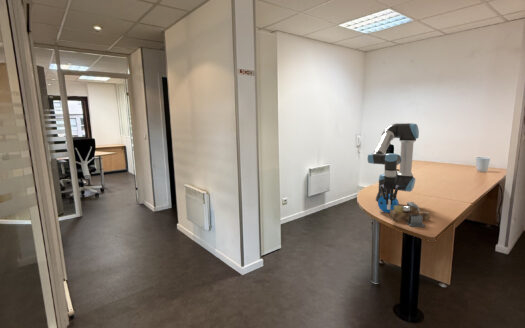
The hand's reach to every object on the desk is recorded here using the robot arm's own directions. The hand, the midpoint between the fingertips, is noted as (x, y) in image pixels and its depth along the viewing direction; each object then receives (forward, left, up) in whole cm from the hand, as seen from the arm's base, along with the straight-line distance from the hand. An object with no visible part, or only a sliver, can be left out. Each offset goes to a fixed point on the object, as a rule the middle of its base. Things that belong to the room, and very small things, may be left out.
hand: (388, 209), depth 195 cm
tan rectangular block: (0, +6, -2) cm, 7 cm away
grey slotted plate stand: (+10, +14, -7) cm, 19 cm away
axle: (0, +14, -2) cm, 14 cm away
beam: (0, +15, -7) cm, 17 cm away
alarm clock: (-14, +3, -7) cm, 16 cm away
